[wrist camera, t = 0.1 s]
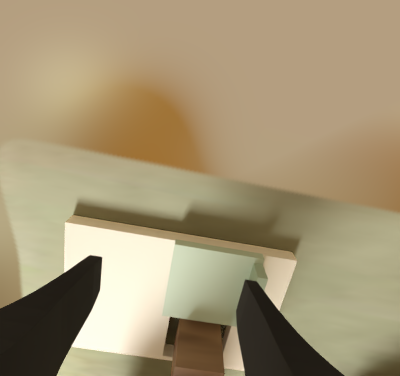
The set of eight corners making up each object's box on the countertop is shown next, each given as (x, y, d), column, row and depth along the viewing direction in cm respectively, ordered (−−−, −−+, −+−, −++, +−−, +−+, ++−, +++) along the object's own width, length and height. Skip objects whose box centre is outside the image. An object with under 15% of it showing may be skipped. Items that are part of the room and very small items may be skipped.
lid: (241, 320, 24) (246, 345, 22) (163, 308, 24) (158, 332, 22) (262, 253, 22) (270, 273, 20) (175, 239, 22) (172, 257, 19)
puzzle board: (253, 359, 28) (256, 372, 27) (69, 333, 27) (63, 345, 26) (292, 251, 24) (297, 260, 22) (73, 214, 23) (65, 222, 21)
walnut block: (211, 342, 28) (214, 406, 22) (174, 337, 27) (167, 399, 22) (219, 314, 26) (224, 373, 21) (181, 308, 26) (175, 366, 20)
